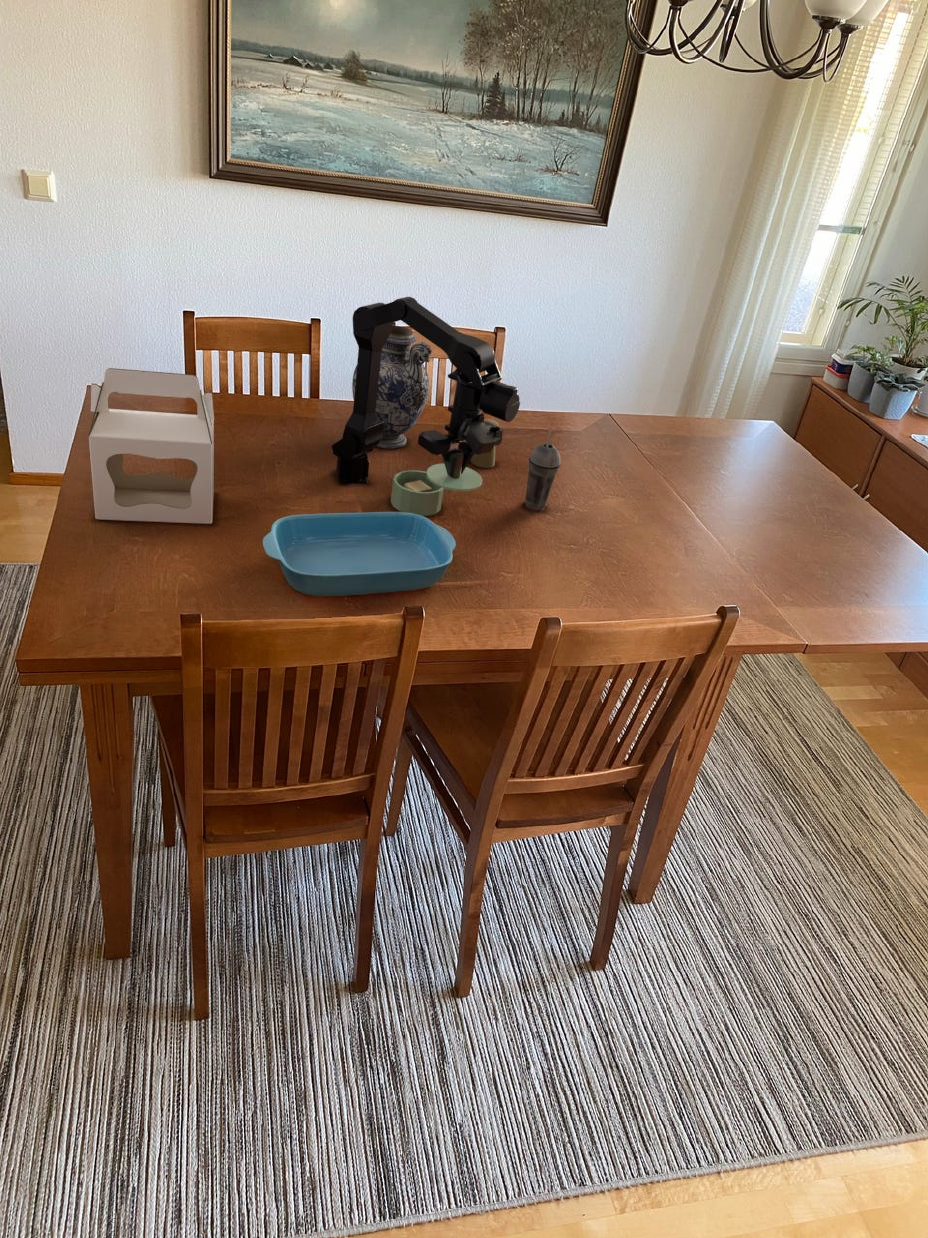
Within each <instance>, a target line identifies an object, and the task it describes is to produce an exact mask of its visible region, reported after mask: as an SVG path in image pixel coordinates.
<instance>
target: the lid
mask: <svg viewBox="0 0 928 1238" xmlns="http://www.w3.org/2000/svg"><path fill="white" fill-rule="evenodd" d="M463 459H464V454H463V453H461V454H459V455H458V456H457V458H456V463H455V468H454V472H453V475H452V476H451V477H450V476H448V474H447V471H446V468H445V464H444V462H443V463H436V464H433V465H431V466H428V468H427V469H426V472H427V473H426V475H427V478H428V479H429V480H430V481H431V482H432V483H433V484H435V485H437V486H439V487H441V488H444V490H448V491H453V492H473V491H476V490H478V489H480V488H481V486H482V485H483V477H482V476H481V475H480V474H479V473H478V472H477V471H476V470H474V469H473V468H470V467H467V466H466V468H465V470H464V472H463V473H462V474H461V470H462V465H463Z"/></svg>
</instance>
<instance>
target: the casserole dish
mask: <svg viewBox="0 0 928 1238" xmlns="http://www.w3.org/2000/svg"><path fill="white" fill-rule="evenodd" d="M262 546H263V550H264V552H265V554H266V556H267V557H268V558H270V559H271V560H274V561H277V562H279V565H280V567H281V570H282V573H283V575H284V577H285V579H286V582H287V583H288V585H289V586H290V587H291V588H292V589H294V590H295V591H296V592H299V593H300V594H303V595H306V596H311V597H345V596H360V595H362V596H363V595H370V594H374V595H375V594H385V593H399V592H409V591H411V592H412V591H418V590H423V589H427V588H430V587H432V586H434V585H436V584H437V583H439V582H440V580H442V578H443V577H444V576H445V574H446V572H447V570H448V568H449V566H450V564H452V561H453V557H454V556H453V551H454V550H455V549H456V546H457V542H456V539H455V538H454V536H453V534H451V532H449V531H448V530H447V528H444V527H443V526H441V525H438V524H436V523H434V522H433V521H432V520H431V519H429V518H428V517H427V516H421V515H418V514H413V513H405V512H401V511H371V512H339V513H337V512H336V513H335V512H334V513H333V512H331V513H307V514H306V513H305V514H295V515H294V514H293V515H288V516H284V517H281V518H278V519H277V520H275V521H274V522H273V523H272V525H271V528H270V532H269V533H267V534H266V535H265V536H264V537H263V539H262Z"/></svg>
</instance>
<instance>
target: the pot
mask: <svg viewBox="0 0 928 1238" xmlns="http://www.w3.org/2000/svg"><path fill="white" fill-rule="evenodd" d="M426 473H427V471H423V470H418V469H408V470H407V469H406V470H402V471H399V472H397V473H396V474H394V476H393V479H392V486H391V493H390V494H391V495H390V503H391V505H392V507H393V508H395V509H396V510H397V511H398V512H405V513H413V514H418V515H421V516H424V517H429V516H433V515H436V514H437V513H439V512H440V511H441V509H442V503H443V497H444V492H445V491H444V490H445V489H444V488H441V487H439V486H437V485H435V484H433V483H432V482H431V481H430V480H429V479H428V478H427V475H426ZM419 480H421V481H422V482H423V483H425V484H426V485H428V486H429V487H431V488H432V492H417V491H412V490H409V489H406V488H404V484H405V483H409V482H414V481H419Z"/></svg>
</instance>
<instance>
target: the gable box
mask: <svg viewBox="0 0 928 1238" xmlns="http://www.w3.org/2000/svg"><path fill="white" fill-rule="evenodd" d="M199 381H200V380H199V377H198V376H196V375H195V374H190V373H189V374H187V373H177V372H163V371H152V370H151V371H150V370H139V369H126V368H114V367H113V368H112V367H108V368H107V369H106V370H105V372H104V379H103V381H101V386H100V385H99V384H98V383H93V382H92V383H91V385H90V412H92V413H93V412H94V413H93V417H92V421H91V425H90V428H89V432H88V444H89V456H90V470H91V481H92V493H93V494H92V495H93V506H94V507H93V508H94V518H95V519H96V520H99V521H100V520H101V521H102V520H103V521H126V522H152V523H172V524H173V523H176V524H178V523H179V524H201V525H205V524H206V525H212V524H213V515H214V514H213V513H214V494H215V490H214V489H215V488H214V482H215V481H214V480H215V477H214V476H215V469H214V468H215V411H214V410H215V409H214V401H213V392H211V391H210V392H209V391H207V392H204V390H203V389H201V387H200V382H199ZM111 394H117V395H118V394H128V395H140V396H154V397H166V398H167V397H168V398H169V397H170V398H181V399H187V400H191V399H192V400H194V401H195V403H196V407H197V413H196V414H190V413H174V412H161V411H147V410H133V409H118V408H117V409H116V408H110V406H109V397H110V395H111ZM124 454H125V455H136V456H142V457H146V458H150V459H151V458H152V459H158V460H165V459H167V460H168V459H169V460H170V459H186V460H190V461H192V462H193V465H194V475H193V476H192V477H190V478H181V477H177V476H175V475H172V474H168V473H161V472H160V473H159V472H158V473H157V472H154V473H153V472H152V473H147V474H140V475H139V474H138V475H130V474H127V473H125V471H124V470H123V463H124V456H123V455H124Z"/></svg>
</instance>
